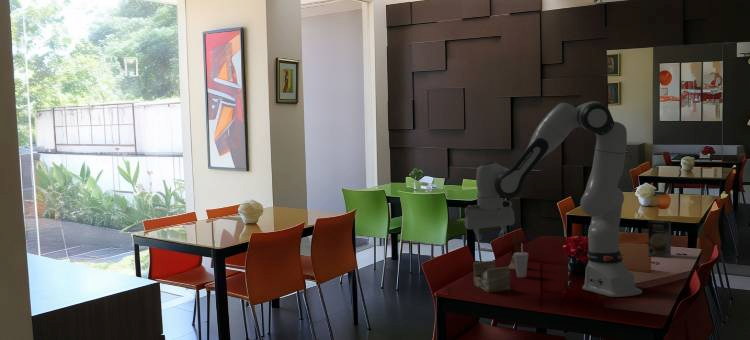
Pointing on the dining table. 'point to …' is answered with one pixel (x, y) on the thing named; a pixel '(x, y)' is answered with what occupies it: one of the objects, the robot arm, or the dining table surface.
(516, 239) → the hand bell
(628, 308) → the dining table surface
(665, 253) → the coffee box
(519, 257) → the smoothie
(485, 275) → the roll
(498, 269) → the holder
